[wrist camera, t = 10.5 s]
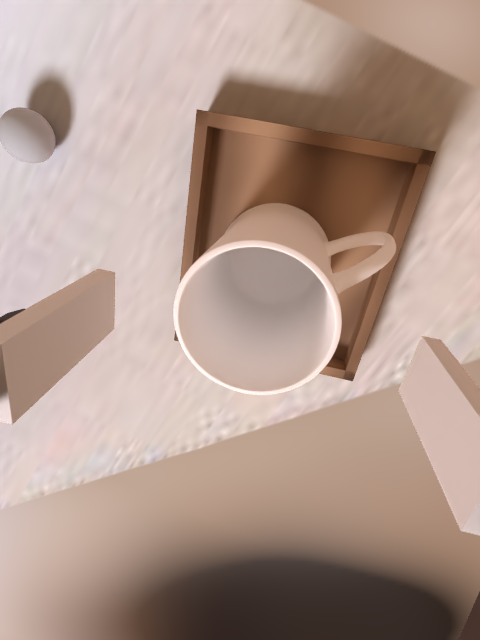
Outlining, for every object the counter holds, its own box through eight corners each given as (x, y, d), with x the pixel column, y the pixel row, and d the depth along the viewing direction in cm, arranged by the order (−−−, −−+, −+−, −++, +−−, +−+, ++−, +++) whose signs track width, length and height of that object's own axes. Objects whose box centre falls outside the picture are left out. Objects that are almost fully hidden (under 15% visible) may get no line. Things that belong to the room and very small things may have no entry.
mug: (361, 169, 24) (407, 178, 14) (385, 284, 27) (439, 368, 16) (203, 224, 28) (139, 266, 17) (240, 322, 30) (205, 412, 20)
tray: (183, 327, 33) (174, 340, 30) (206, 113, 25) (196, 109, 23) (349, 365, 31) (352, 381, 29) (423, 152, 24) (435, 151, 22)
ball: (24, 158, 29) (-12, 158, 25) (19, 107, 27) (-19, 100, 24) (66, 167, 28) (36, 168, 25) (64, 115, 27) (31, 109, 24)
